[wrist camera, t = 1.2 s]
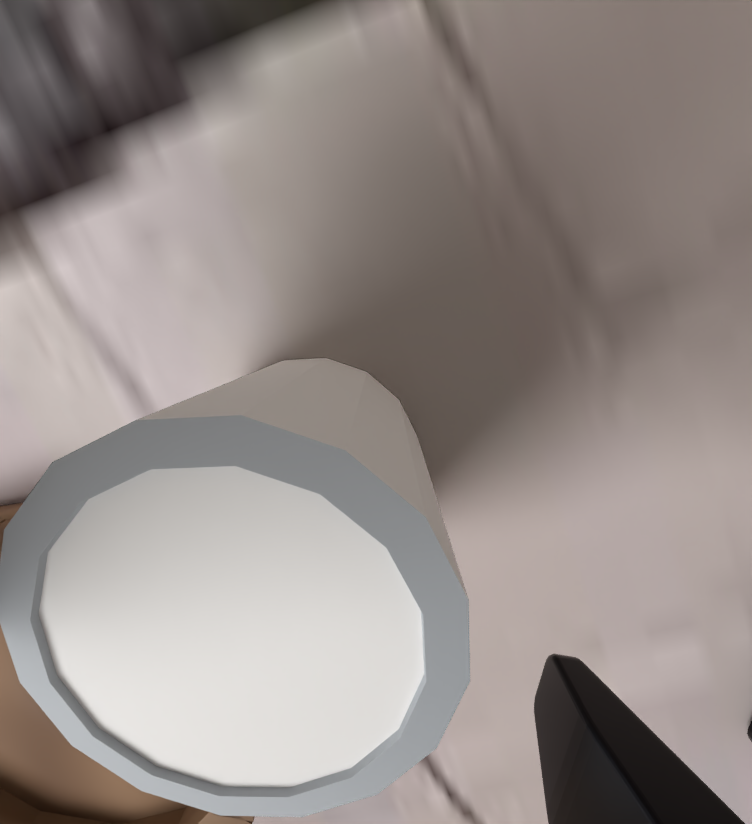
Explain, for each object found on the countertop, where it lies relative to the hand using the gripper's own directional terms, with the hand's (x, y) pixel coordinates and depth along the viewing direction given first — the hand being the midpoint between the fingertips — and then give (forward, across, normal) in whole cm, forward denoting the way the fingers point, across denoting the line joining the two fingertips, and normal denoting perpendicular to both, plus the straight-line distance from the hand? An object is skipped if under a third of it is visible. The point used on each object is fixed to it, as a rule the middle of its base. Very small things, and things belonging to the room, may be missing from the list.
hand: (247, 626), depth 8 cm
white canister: (+7, 0, 0) cm, 7 cm away
